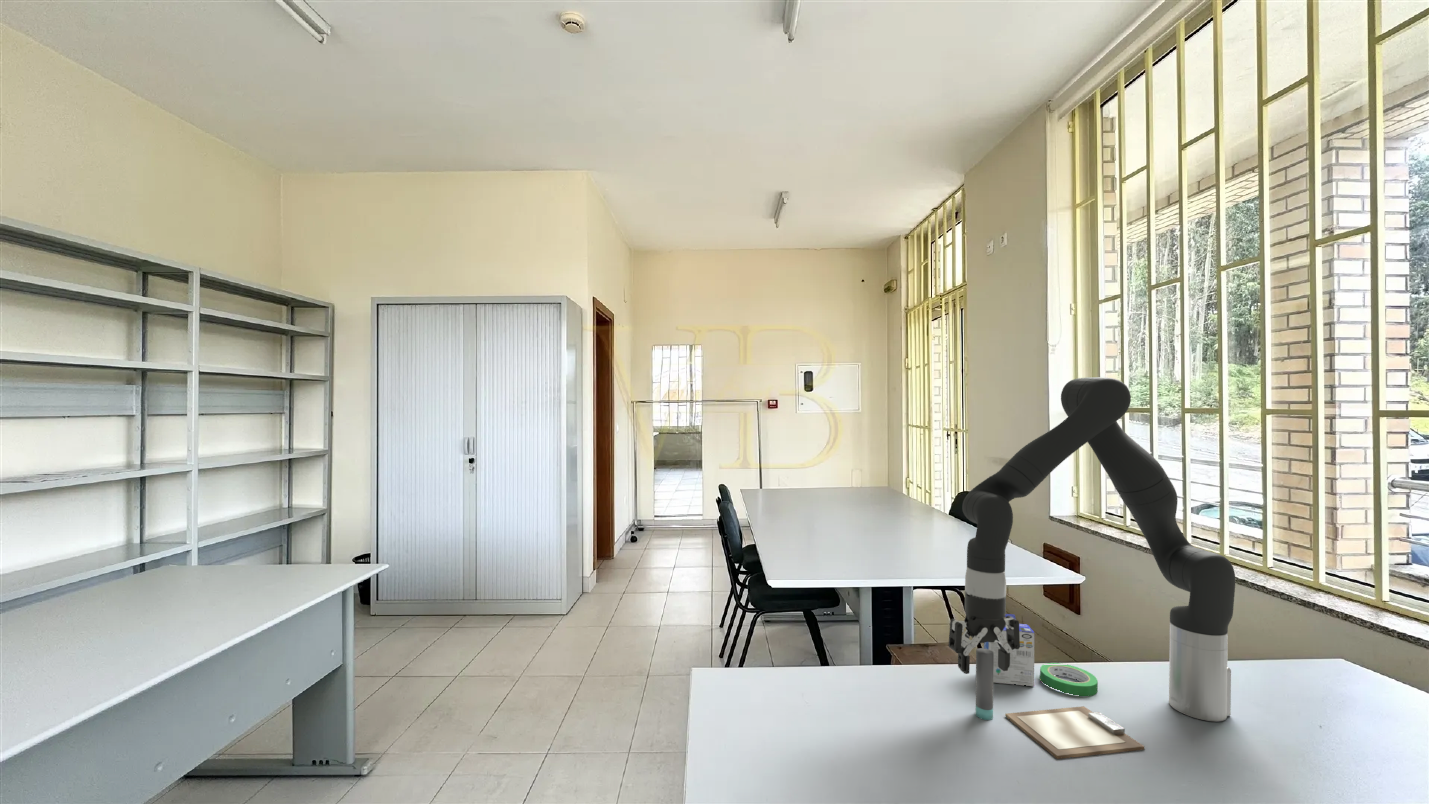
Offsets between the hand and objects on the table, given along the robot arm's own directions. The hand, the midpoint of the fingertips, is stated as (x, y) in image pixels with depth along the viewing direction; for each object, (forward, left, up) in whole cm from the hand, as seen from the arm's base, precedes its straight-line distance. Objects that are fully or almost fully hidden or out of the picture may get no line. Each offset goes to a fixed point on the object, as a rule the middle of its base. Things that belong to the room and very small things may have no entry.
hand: (983, 670), depth 117 cm
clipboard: (-13, +8, -9) cm, 18 cm away
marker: (0, 0, -9) cm, 9 cm away
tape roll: (-27, -9, -10) cm, 30 cm away
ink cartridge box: (-15, -13, -9) cm, 22 cm away
